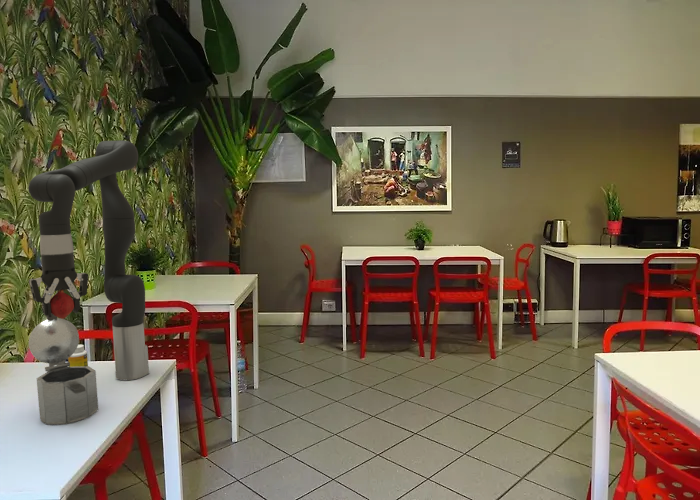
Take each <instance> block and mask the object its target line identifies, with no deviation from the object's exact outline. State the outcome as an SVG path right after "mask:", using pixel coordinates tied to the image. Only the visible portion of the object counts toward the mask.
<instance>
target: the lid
mask: <svg viewBox="0 0 700 500" xmlns="http://www.w3.org/2000/svg"><path fill="white" fill-rule="evenodd" d="M45 318H46V319H45V320H42V321H41V322H39V323H38V324H37V325H36V326H35V327H34V328H33V329H32V331H31V332H30V335H29V337H28V347H29V351H30V353H31V354H32V356H33V357H34V358H35V359H36V360H37V361H40V362H42V363H45V364H48V366H46V367H45V366H44V371H45V372H47V371H51V370H55V369H59V368H64V367H69V366H70V362H68V361H67V362H66V360H68V358H69V357H70V356H71V355H72V354H73V353H74V352H75V350H76V349H77V346H78V345H79V343H80V336H79V335H80V334H79V331H78V328H77V327H76V326H75V325H74V324H73V323H72V322H71V321H69V320H67V319H66V318H64V319H60V318H58V317H56V316H54V315H53V314H52V313H51V317H46V316H45Z"/></svg>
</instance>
